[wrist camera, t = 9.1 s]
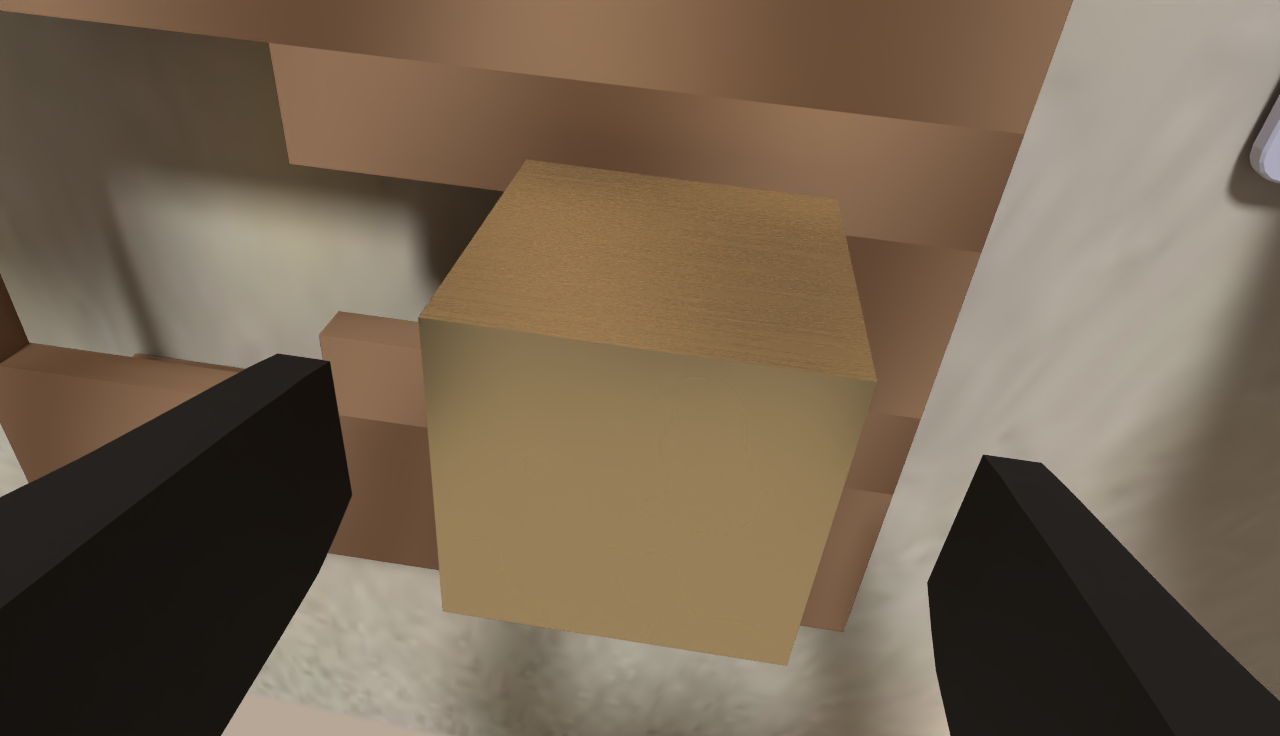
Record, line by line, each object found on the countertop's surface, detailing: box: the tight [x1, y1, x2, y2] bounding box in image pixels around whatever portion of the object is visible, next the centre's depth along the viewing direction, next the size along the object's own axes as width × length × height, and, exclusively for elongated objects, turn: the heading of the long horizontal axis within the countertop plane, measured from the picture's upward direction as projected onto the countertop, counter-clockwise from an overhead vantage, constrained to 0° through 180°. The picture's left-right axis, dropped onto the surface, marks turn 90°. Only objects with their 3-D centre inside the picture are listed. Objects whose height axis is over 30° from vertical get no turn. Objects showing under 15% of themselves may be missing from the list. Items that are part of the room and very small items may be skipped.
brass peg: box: [418, 160, 877, 666], centre depth 12 cm, size 4×4×9 cm
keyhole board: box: [0, 0, 1073, 632], centre depth 14 cm, size 17×14×4 cm
